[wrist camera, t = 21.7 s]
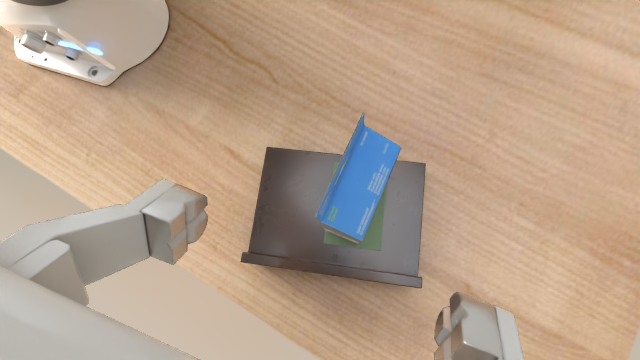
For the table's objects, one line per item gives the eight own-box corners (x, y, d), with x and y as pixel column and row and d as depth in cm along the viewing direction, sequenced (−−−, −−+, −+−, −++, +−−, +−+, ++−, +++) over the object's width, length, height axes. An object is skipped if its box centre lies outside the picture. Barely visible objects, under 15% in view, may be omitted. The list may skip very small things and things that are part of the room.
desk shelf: (254, 260, 37) (240, 262, 33) (272, 154, 40) (262, 140, 35) (411, 283, 36) (421, 288, 31) (419, 170, 38) (430, 158, 33)
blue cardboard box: (358, 246, 34) (365, 243, 22) (324, 231, 34) (312, 220, 22) (390, 170, 35) (413, 128, 23) (357, 157, 36) (362, 109, 24)
